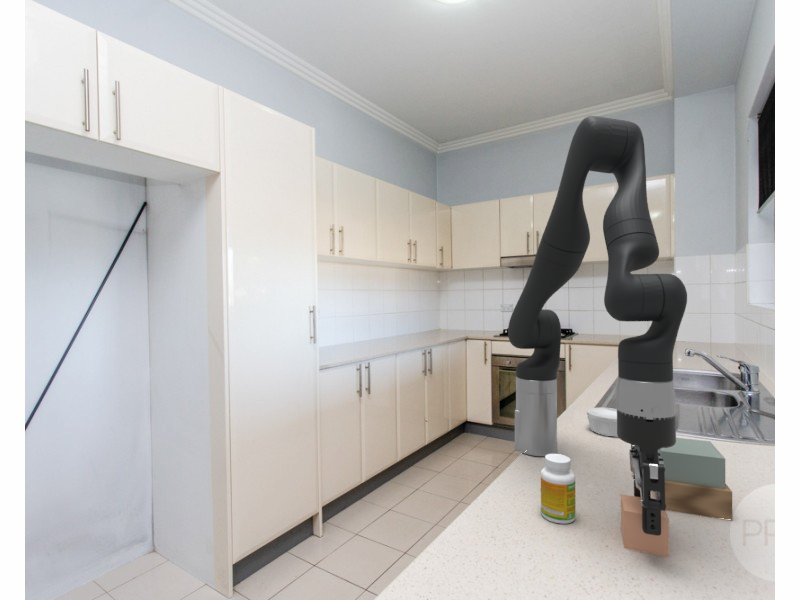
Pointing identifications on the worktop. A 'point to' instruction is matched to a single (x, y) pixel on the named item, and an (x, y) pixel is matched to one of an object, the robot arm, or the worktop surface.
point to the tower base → (698, 500)
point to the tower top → (694, 463)
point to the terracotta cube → (633, 528)
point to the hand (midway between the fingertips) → (646, 518)
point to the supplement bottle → (558, 489)
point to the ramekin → (603, 421)
